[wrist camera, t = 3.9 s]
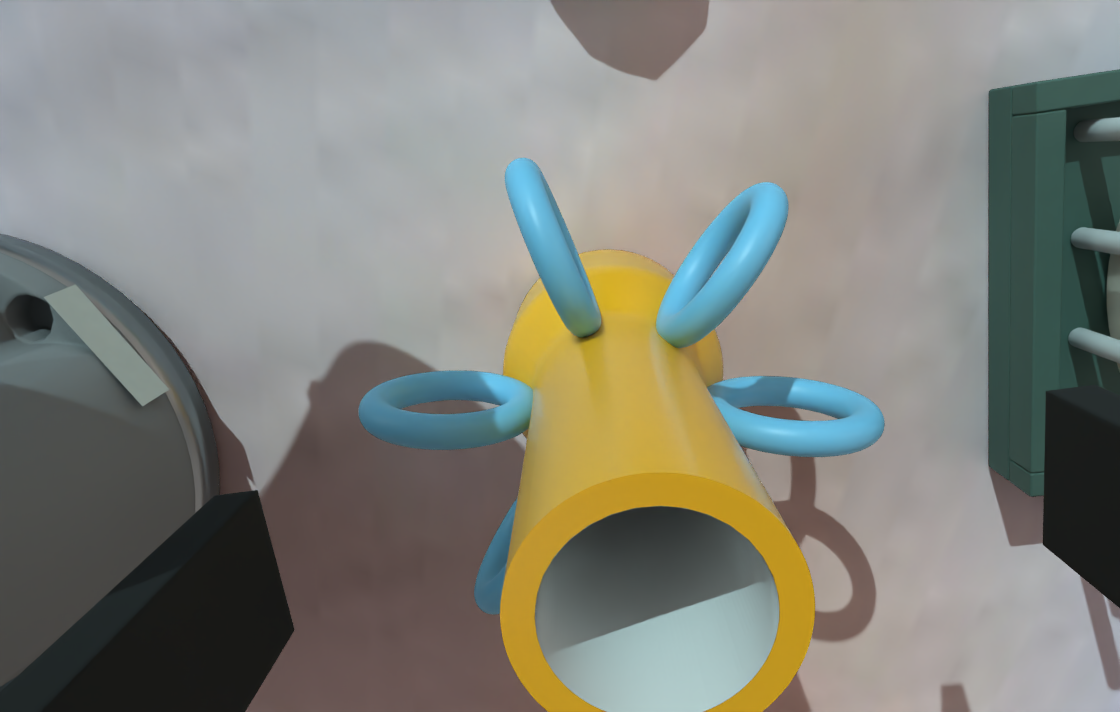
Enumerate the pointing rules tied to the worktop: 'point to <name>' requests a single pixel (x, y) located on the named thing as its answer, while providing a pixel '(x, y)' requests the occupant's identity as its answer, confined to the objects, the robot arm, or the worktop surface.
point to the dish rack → (1050, 257)
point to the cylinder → (638, 471)
